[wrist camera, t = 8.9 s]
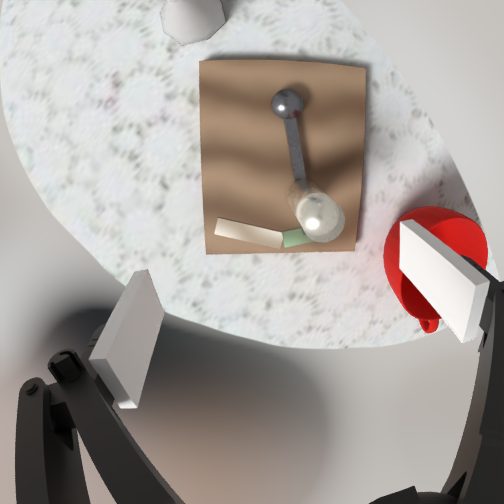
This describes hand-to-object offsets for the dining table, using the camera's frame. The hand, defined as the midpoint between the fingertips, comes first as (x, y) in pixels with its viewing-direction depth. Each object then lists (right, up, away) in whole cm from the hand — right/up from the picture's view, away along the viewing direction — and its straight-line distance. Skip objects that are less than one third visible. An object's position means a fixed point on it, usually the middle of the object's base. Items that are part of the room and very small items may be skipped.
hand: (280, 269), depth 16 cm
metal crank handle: (+3, +10, +18) cm, 21 cm away
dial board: (+2, +11, +19) cm, 22 cm away
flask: (-8, +27, +12) cm, 31 cm away
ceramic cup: (+20, +1, +25) cm, 32 cm away
